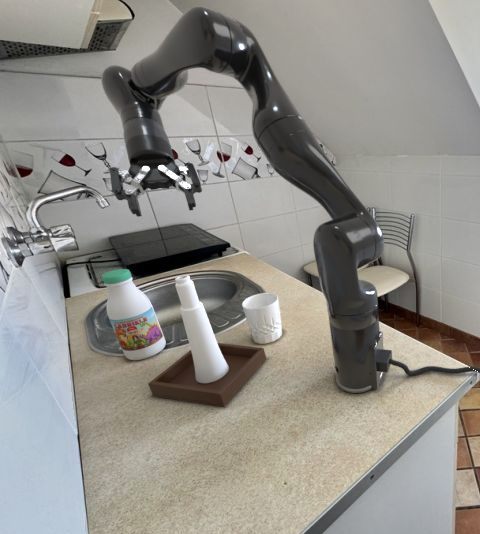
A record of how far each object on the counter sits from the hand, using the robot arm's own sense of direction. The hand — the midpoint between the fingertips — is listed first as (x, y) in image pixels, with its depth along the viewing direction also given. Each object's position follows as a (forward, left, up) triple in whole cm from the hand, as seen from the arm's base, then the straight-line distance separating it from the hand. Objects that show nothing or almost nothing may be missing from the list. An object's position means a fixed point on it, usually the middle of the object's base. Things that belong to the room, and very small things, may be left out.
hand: (165, 211), depth 63 cm
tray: (-8, +8, -33) cm, 35 cm away
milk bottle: (+14, +3, -33) cm, 36 cm away
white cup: (-11, -7, -33) cm, 35 cm away
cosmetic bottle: (-8, +8, -32) cm, 34 cm away
